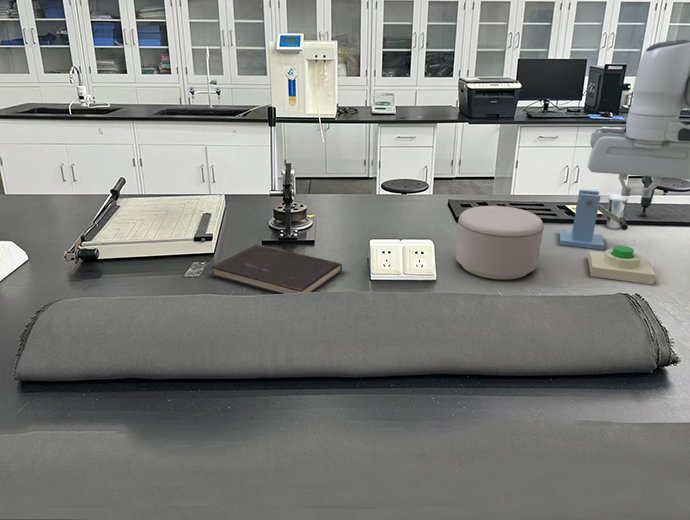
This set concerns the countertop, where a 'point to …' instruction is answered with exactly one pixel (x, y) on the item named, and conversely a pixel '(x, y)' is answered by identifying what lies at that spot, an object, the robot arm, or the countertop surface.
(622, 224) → the light lever
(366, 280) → the countertop surface
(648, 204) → the microphone
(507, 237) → the container
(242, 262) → the hardcover book
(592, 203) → the lever bracket
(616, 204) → the milkshake
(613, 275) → the switch block
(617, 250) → the light button
